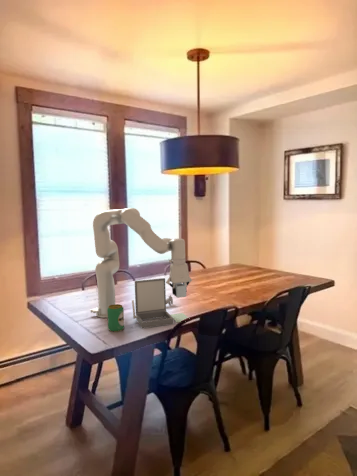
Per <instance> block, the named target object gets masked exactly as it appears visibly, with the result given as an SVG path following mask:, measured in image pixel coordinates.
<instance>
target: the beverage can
mask: <svg viewBox="0 0 357 476" xmlns="http://www.w3.org/2000/svg"><path fill="white" fill-rule="evenodd" d="M124 310H125V309H124V306H123V304H119V303H118V304H117V303H115V304H114V305H110V306H109V307H108V309H107V311H108V318H107V327H108V330H109V331H110V332H112V331H114V332H117V333H118V332H121V331H124V329H125V317H124V316H125V315H124V314H125V313H124V312H125V311H124ZM114 332H113V333H114Z"/></svg>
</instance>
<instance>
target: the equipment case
mask: <svg viewBox="0 0 357 476" xmlns="http://www.w3.org/2000/svg"><path fill="white" fill-rule="evenodd" d="M134 297H135V298H134V299H132V300H131V304H132V313H133V314H132V318H133V319H135V320H136V321H137V323H138V324H139V326H140V328H141V329H147V328H154V327H156V328H157V327H161V326H169V325H175V320H174V318H173V317H172V316H171V314H170V313H169V311H167V304H166V299H167V297H166V277H162V278H161V277H160V278H152V279H151V278H150V279H141V280H140V279H139V280H134ZM157 318H159V319H157ZM161 318H163V319H161ZM150 319H151V320H150ZM152 319H153V320H152ZM155 319H156V320H155ZM143 320H147V321H143Z"/></svg>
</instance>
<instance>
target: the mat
mask: <svg viewBox="0 0 357 476" xmlns="http://www.w3.org/2000/svg"><path fill="white" fill-rule="evenodd" d="M170 315H171V316H172V317H173V318H174V322H176V323H177V324H178V323H182V322H181V321H182V320H184V319H186V318H189V317H188V316H187V315H186V314H185V313H183V312H180V313H174V314H173V313H172V314H170Z"/></svg>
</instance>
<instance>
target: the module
mask: <svg viewBox="0 0 357 476" xmlns="http://www.w3.org/2000/svg"><path fill="white" fill-rule="evenodd" d="M175 288H176V296H175V297H176V298H185V297H187V292H186V285H184V284H183V283H176V285H175Z"/></svg>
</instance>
